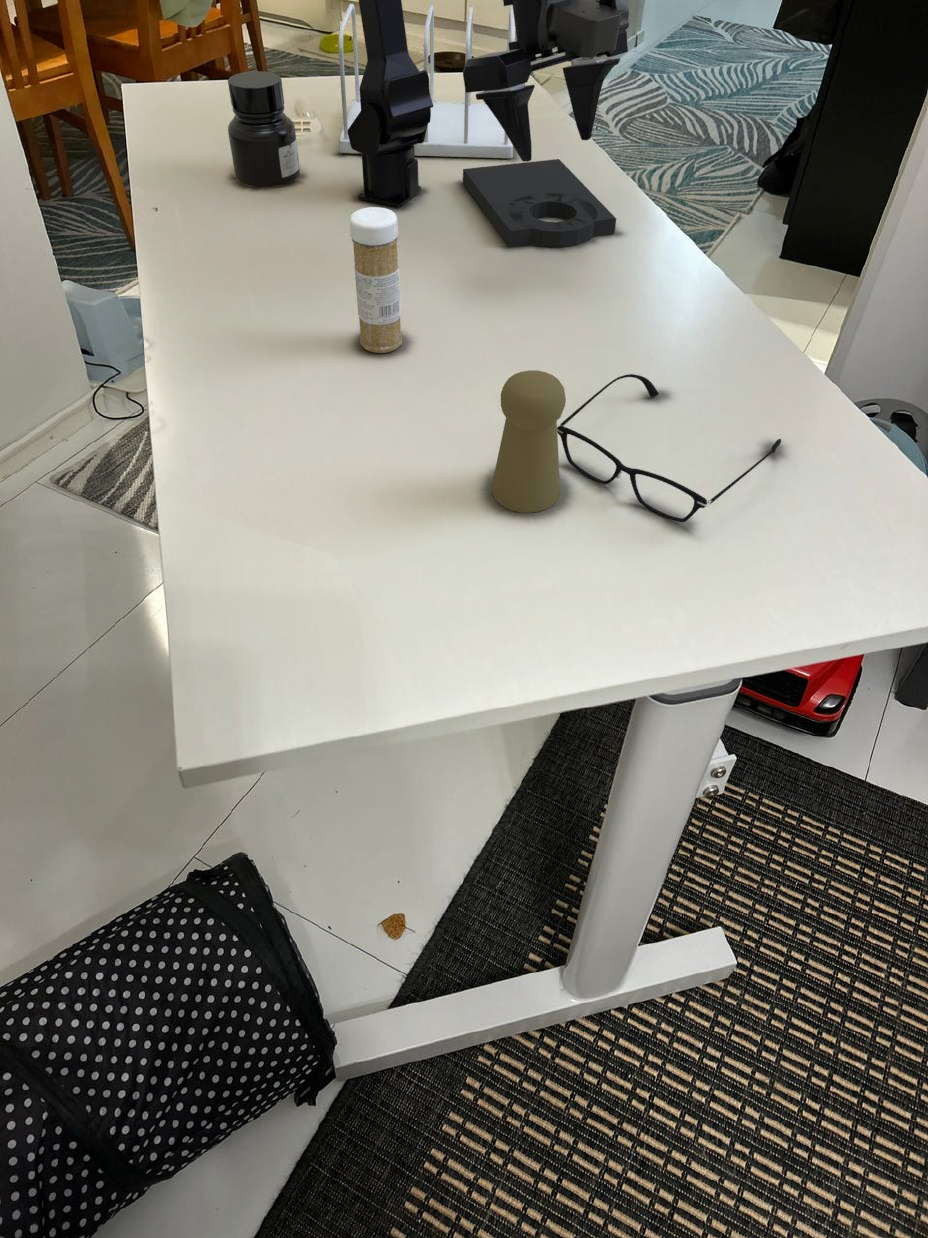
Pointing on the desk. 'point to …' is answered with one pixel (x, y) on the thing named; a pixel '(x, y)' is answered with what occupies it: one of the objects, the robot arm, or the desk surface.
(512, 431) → the olive game pawn
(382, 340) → the sprinkles bottle
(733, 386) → the desk surface
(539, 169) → the pad
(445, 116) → the file sorter
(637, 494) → the eyeglasses
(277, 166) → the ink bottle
